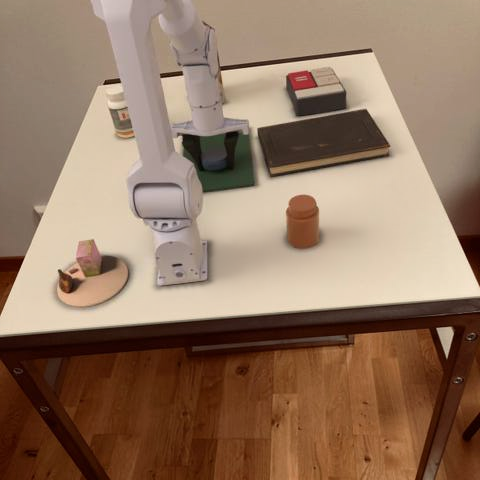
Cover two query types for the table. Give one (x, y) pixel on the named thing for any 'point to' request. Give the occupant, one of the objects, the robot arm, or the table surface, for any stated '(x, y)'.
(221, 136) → the mat
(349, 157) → the hardcover book
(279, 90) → the table surface
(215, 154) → the lid
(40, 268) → the table surface
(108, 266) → the dessert plate
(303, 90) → the grey box
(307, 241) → the jar
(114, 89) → the pill bottle
